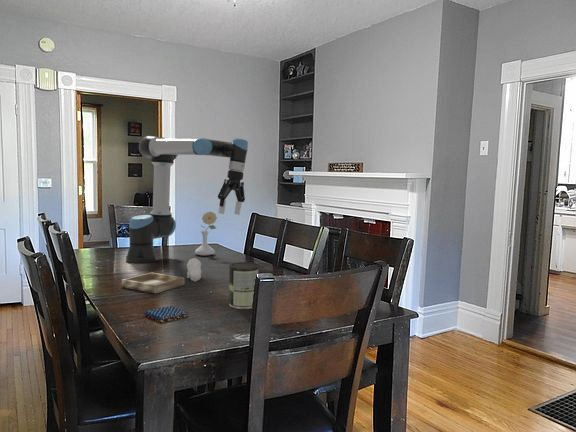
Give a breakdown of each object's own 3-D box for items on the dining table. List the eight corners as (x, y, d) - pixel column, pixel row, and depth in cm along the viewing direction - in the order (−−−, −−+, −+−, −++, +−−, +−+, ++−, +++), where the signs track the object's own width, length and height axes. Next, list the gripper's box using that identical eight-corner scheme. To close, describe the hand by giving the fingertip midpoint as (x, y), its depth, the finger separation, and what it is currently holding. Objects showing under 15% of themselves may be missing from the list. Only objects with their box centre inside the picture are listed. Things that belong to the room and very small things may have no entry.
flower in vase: (190, 255, 244) (191, 211, 241) (200, 252, 254) (200, 210, 252) (211, 257, 240) (212, 212, 238) (220, 254, 251) (221, 211, 249)
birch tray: (121, 287, 172) (121, 279, 171) (151, 279, 186) (151, 272, 185) (155, 293, 163) (155, 285, 163) (184, 284, 178) (184, 277, 177)
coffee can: (222, 305, 151) (222, 264, 149) (243, 299, 159) (244, 261, 157) (243, 311, 144) (244, 269, 143) (264, 304, 152) (265, 265, 151)
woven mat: (190, 317, 138) (190, 311, 138) (160, 325, 130) (160, 318, 130) (171, 310, 145) (171, 304, 145) (142, 317, 137) (142, 311, 137)
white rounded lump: (201, 256, 193) (203, 264, 182) (200, 275, 195) (203, 284, 183) (186, 257, 191) (188, 265, 180) (186, 275, 193) (187, 284, 182)
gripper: (227, 168, 198) (220, 214, 199) (255, 174, 221) (249, 215, 222) (214, 166, 202) (207, 211, 203) (243, 172, 224) (236, 213, 225)
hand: (229, 214), depth 212 cm, fingers open, 13 cm apart
